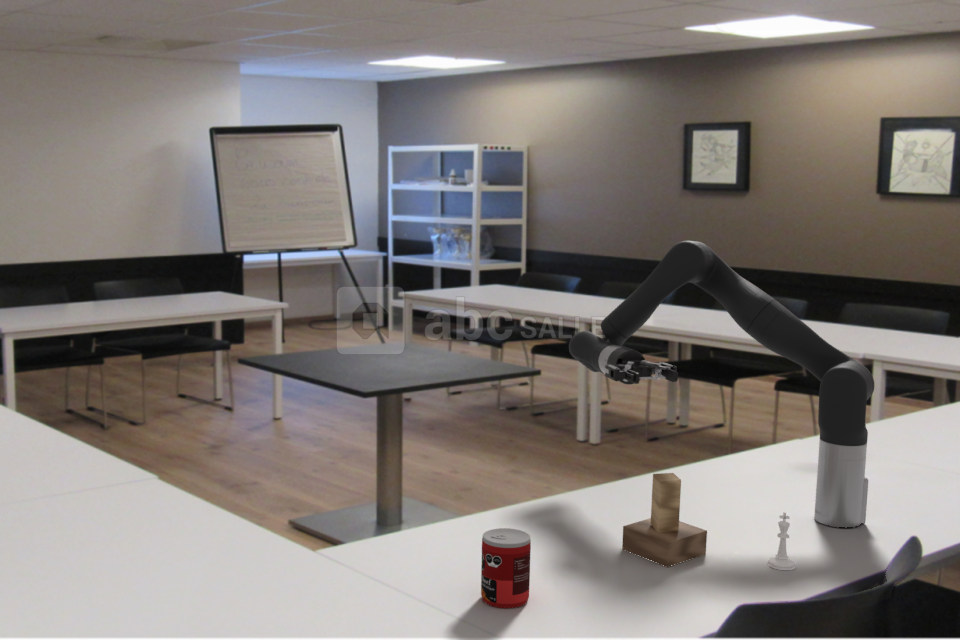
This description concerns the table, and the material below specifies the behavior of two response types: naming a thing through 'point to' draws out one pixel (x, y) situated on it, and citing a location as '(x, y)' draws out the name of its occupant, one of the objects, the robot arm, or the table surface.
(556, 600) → the table surface
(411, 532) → the table surface
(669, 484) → the oak block
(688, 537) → the walnut block
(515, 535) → the canned food
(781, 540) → the chess piece
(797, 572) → the table surface
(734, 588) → the table surface
